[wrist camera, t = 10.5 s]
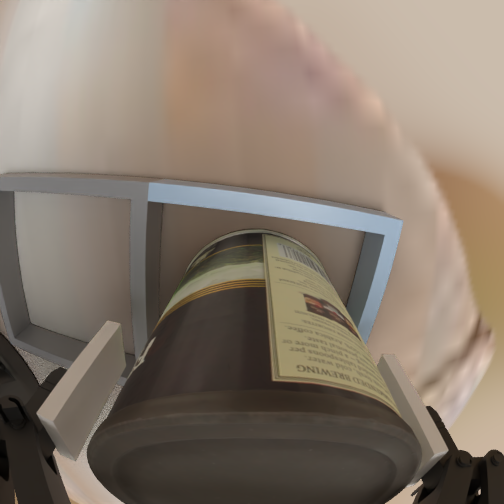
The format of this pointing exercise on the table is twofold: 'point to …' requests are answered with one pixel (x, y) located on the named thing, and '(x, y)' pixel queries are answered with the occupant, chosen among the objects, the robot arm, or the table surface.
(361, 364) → the coffee can
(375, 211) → the bay tray
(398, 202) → the table surface
